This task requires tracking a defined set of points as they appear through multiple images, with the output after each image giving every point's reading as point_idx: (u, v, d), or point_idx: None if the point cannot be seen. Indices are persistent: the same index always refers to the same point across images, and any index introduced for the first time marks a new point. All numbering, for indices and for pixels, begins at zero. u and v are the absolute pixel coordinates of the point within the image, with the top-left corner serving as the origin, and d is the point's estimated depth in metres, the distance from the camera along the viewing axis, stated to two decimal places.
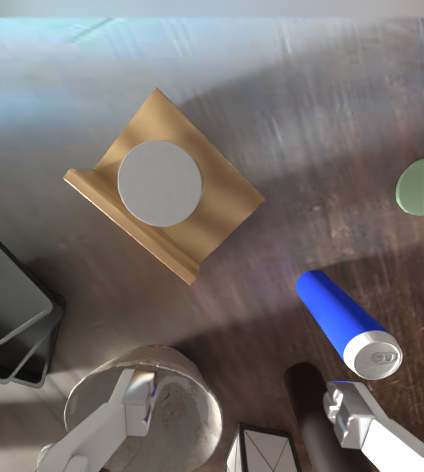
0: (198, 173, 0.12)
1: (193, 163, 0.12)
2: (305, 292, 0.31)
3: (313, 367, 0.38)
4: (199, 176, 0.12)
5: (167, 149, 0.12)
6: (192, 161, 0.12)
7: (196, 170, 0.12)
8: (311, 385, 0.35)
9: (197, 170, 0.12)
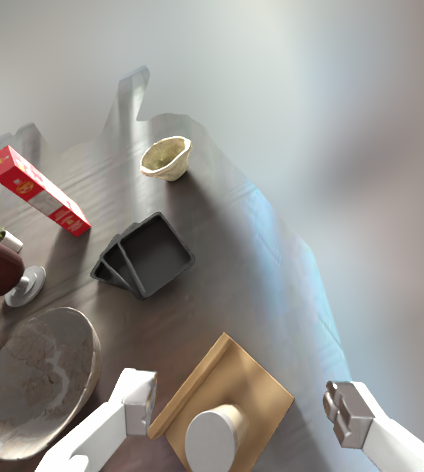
0: None
1: None
2: None
3: None
4: None
5: (229, 453, 0.20)
6: None
7: None
8: None
9: None
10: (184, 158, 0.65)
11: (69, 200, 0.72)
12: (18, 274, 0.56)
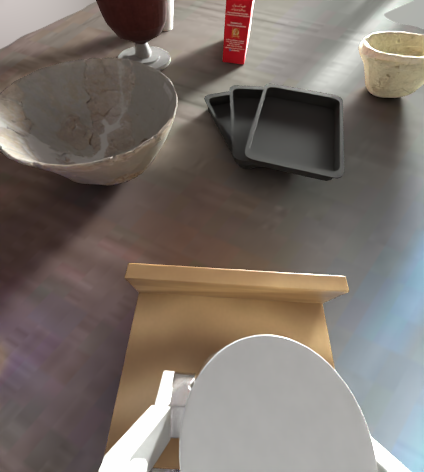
0: None
1: None
2: None
3: None
4: None
5: None
6: None
7: None
8: None
9: None
10: None
11: (251, 18, 0.54)
12: (151, 29, 0.44)
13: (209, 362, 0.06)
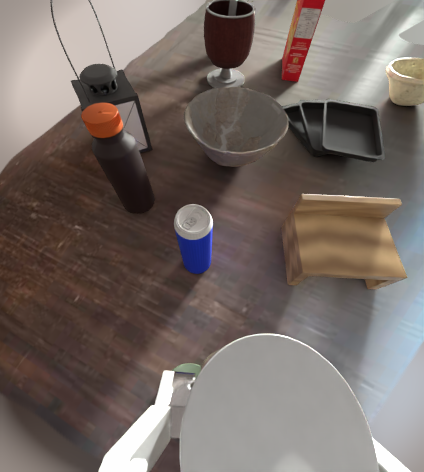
0: None
1: None
2: None
3: (140, 211, 0.45)
4: None
5: None
6: None
7: None
8: (144, 196, 0.43)
9: None
10: None
11: None
12: (241, 61, 0.63)
13: (210, 361, 0.06)
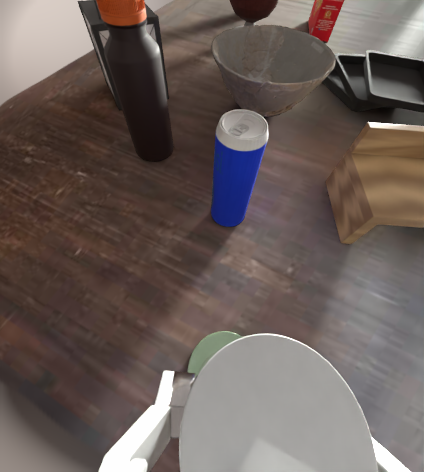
0: None
1: None
2: None
3: (157, 158, 0.38)
4: None
5: None
6: None
7: None
8: (163, 136, 0.35)
9: None
10: None
11: None
12: (269, 9, 0.56)
13: (209, 361, 0.06)
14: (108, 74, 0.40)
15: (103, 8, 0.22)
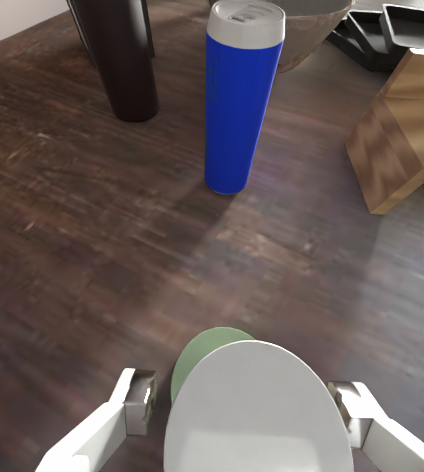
0: None
1: None
2: None
3: (138, 117, 0.31)
4: None
5: None
6: None
7: None
8: (144, 85, 0.28)
9: None
10: None
11: None
12: None
13: (195, 367, 0.06)
14: None
15: None
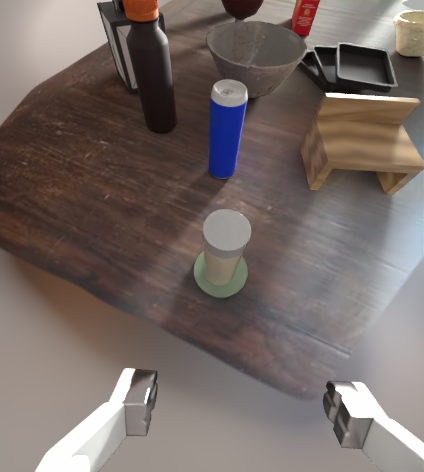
0: (214, 246, 0.21)
1: (220, 248, 0.20)
2: None
3: (164, 130, 0.47)
4: (213, 245, 0.21)
5: (236, 245, 0.21)
6: (221, 249, 0.20)
7: (216, 246, 0.21)
8: (169, 110, 0.44)
9: (216, 247, 0.21)
10: None
11: None
12: (255, 8, 0.65)
13: (210, 214, 0.22)
14: (122, 62, 0.48)
15: (128, 9, 0.31)
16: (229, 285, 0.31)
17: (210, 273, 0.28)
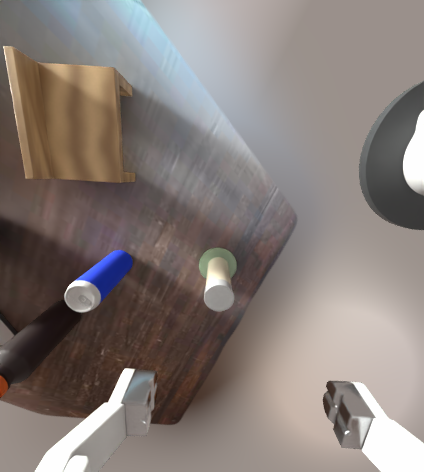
0: (231, 305, 0.35)
1: (232, 302, 0.35)
2: None
3: None
4: (230, 306, 0.35)
5: (230, 293, 0.34)
6: (233, 301, 0.35)
7: (231, 304, 0.35)
8: (62, 314, 0.45)
9: (231, 304, 0.35)
10: None
11: None
12: None
13: None
14: None
15: None
16: (229, 261, 0.46)
17: None
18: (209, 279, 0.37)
